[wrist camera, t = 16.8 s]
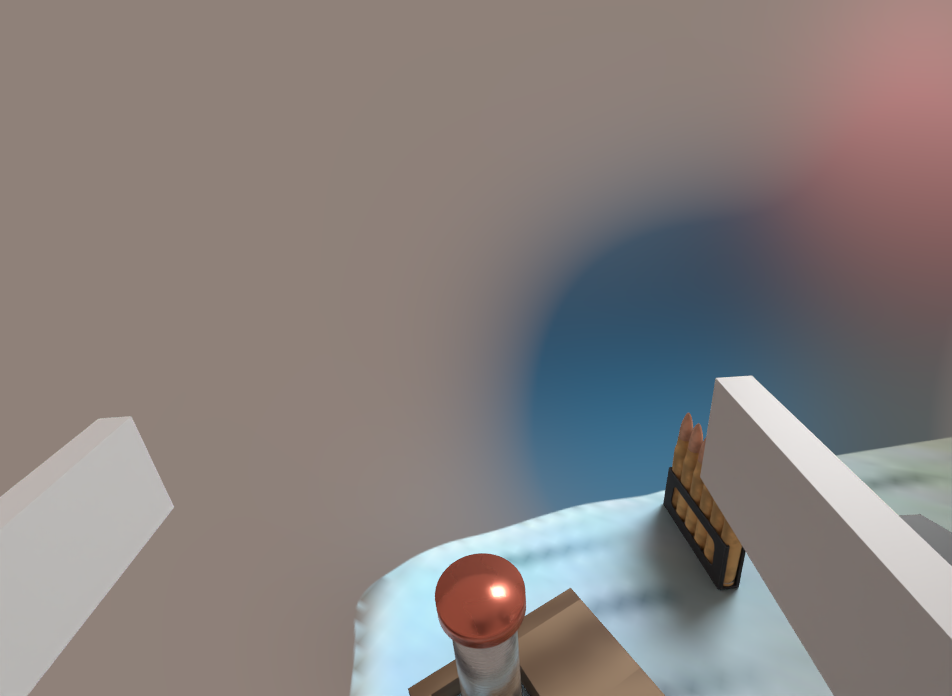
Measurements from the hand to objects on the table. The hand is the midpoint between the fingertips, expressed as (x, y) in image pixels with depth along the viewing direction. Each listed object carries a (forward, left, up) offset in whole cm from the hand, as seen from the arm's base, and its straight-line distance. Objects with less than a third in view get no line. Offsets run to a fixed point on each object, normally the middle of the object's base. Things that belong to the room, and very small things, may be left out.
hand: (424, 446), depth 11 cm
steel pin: (+8, -5, -32) cm, 33 cm away
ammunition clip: (+11, -30, -32) cm, 45 cm away
